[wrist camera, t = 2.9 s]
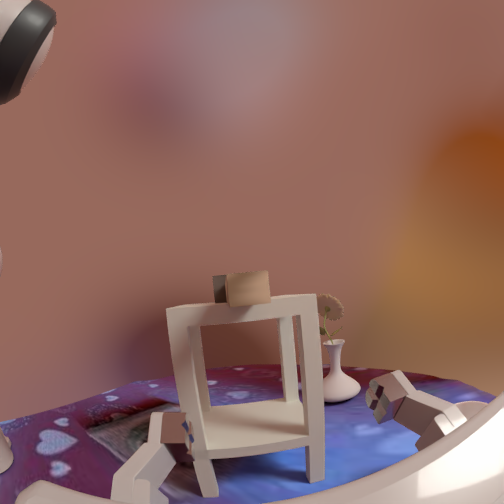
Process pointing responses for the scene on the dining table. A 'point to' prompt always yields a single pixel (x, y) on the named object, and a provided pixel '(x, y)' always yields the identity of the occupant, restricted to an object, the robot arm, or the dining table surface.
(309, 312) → the shelf stand
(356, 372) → the dining table surface
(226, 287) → the mallet
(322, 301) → the flower in vase
